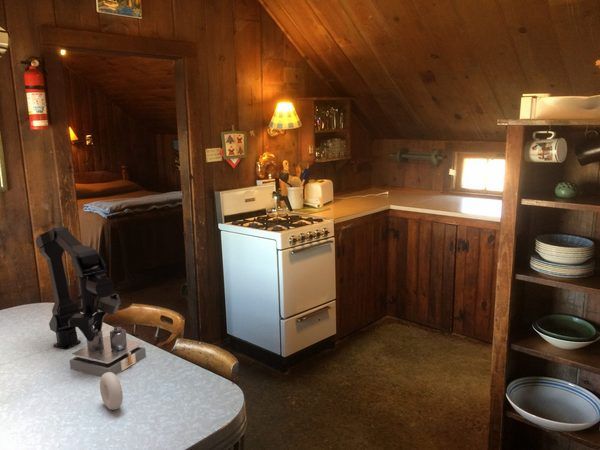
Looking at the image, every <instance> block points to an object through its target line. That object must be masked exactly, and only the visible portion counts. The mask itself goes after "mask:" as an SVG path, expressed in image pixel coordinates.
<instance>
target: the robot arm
mask: <svg viewBox="0 0 600 450" xmlns="http://www.w3.org/2000/svg"><path fill="white" fill-rule="evenodd" d="M35 246H36V247H37V249H38V251H39V254H40V255H41V256H42V257H43V258H44V259H45V260H46V263H47V268H48V272H49V277H50V283H51V287H52V291H53V295H54V304H53V305H52V306H53V307H52V309H51V312H52V317H51V318H50V320H49V323H48V325H49V329H50V330H51V331H52V332H54V333H55V337H56V343H54V344H53V347H54V348H55V347H56V348H60V349H64V350H67V349H69V348H72V347H74V346H76V345H78V344H80V343H82V341H81V340H80V339H78V333H77V328H78V329H79V331H80V332H81V333H82V334H83V336H84V337H85V338H87V339H86V341H87V340H88V341H92V339H93V328H98V330H101V331H102V329H103V323H104V319H105V316H106V315H110V316H111V315H112V316H113V315H115V313H116V312H118V310H119V307H120V305H121V304H122V302H121V298H120V294H117V293H114V294H112V293H113V291H114V289H115V284H114V282H113V281H112V279H110V278H108V276H107V275H108V274H106V272H107V265H106V263H105V261H104V260H103V258H102V256H101V254H100V253H99V251H98V250H96V249H94V248H93V247H92V246H88V245H84V244H83V243H82V242H81V241H79V239H77V238H76V236H74V235H73V234H72V233H71V232H70V230H69V228H68V227H67V226H64V225H63V226H57V227H53V228H51V229H49V230H48V231H45V232H44V233H39V234H38V236H37V237H36V238H35ZM65 252H66V253H67V254H68V255H69V256H70V257H71V262H70V263H71V264H72V267H73V268H74V270H75V271H76V272H75V275H76V276H77V278H78V287H79V294H78V295H77V300H80V307H79V304H78V302H75V301H74V300H73V299H72V298H71V294H70V290H69V284H68V280H67V275H66V270H65V265H64V261H63V255H64V253H65Z"/></svg>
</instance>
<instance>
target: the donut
mask: <svg viewBox="0 0 600 450" xmlns="http://www.w3.org/2000/svg"><path fill="white" fill-rule="evenodd" d="M99 391H100V396H101V398H102V402H103V403H104V405H105V406H106V408H107V409H109V410H111V411H112V410H113V411H114V410H118V409H119V408H120V407H121V406H122V404H123V399H124V395H123V388H122V384H121V381H120V380H119V378H118V376H117V374H116V375H115V374H114V373H112V372H107V373H104V374H103V375H102V377H101V376H100V378H99Z"/></svg>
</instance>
